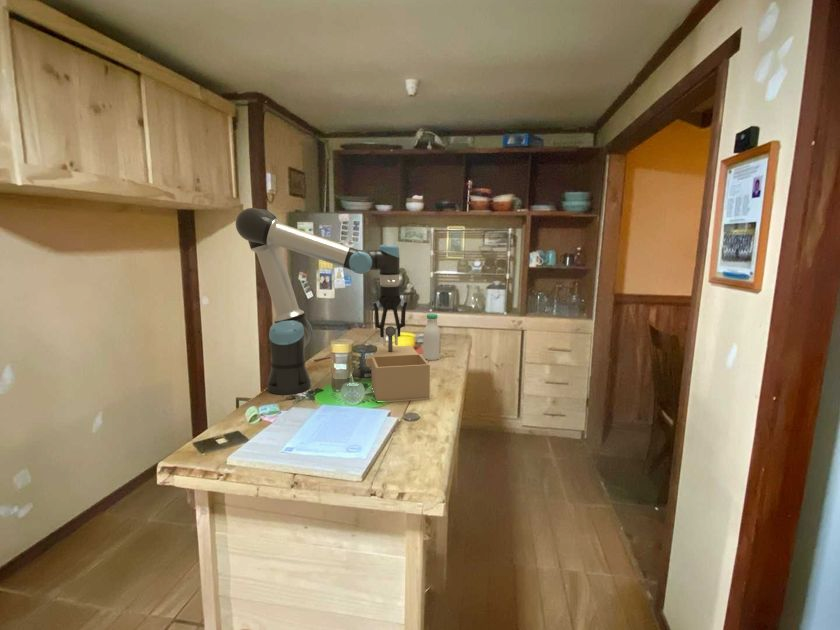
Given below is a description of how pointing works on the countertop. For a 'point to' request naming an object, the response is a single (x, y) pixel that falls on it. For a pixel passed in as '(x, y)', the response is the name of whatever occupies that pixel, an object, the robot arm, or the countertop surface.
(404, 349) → the carton lid
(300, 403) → the countertop surface
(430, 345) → the milk bottle
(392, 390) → the carton
